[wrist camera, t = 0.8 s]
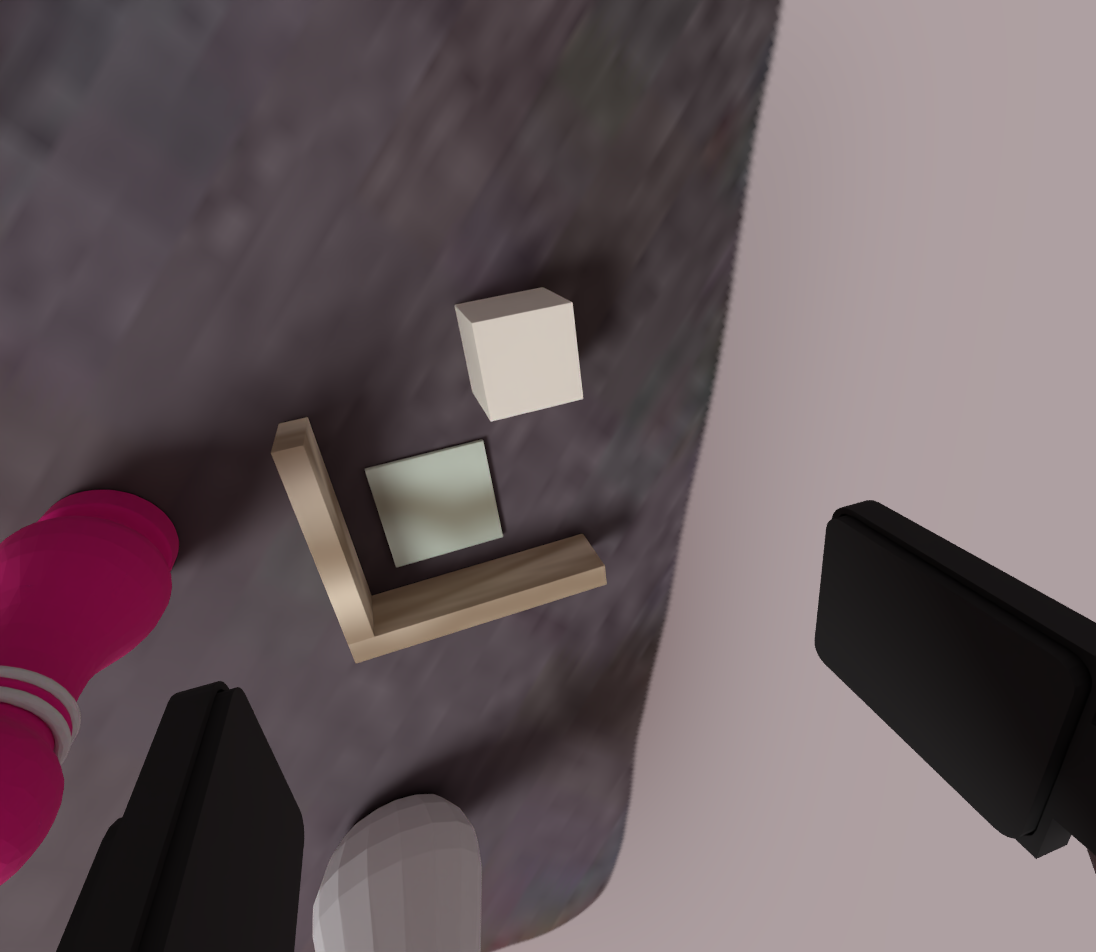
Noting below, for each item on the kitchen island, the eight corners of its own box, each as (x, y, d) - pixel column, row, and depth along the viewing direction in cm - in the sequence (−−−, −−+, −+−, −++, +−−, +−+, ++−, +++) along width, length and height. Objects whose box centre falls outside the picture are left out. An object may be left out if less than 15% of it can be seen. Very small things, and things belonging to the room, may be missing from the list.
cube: (454, 304, 31) (471, 323, 27) (542, 286, 32) (572, 302, 28) (472, 392, 34) (491, 422, 30) (553, 373, 35) (583, 399, 31)
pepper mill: (90, 452, 29) (-271, 833, 12) (219, 533, 33) (85, 912, 16) (-7, 548, 30) (-484, 1042, 13) (131, 617, 33) (-92, 1071, 16)
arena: (278, 423, 31) (270, 452, 28) (560, 359, 34) (584, 378, 31) (354, 620, 38) (355, 663, 34) (584, 551, 41) (606, 584, 38)
